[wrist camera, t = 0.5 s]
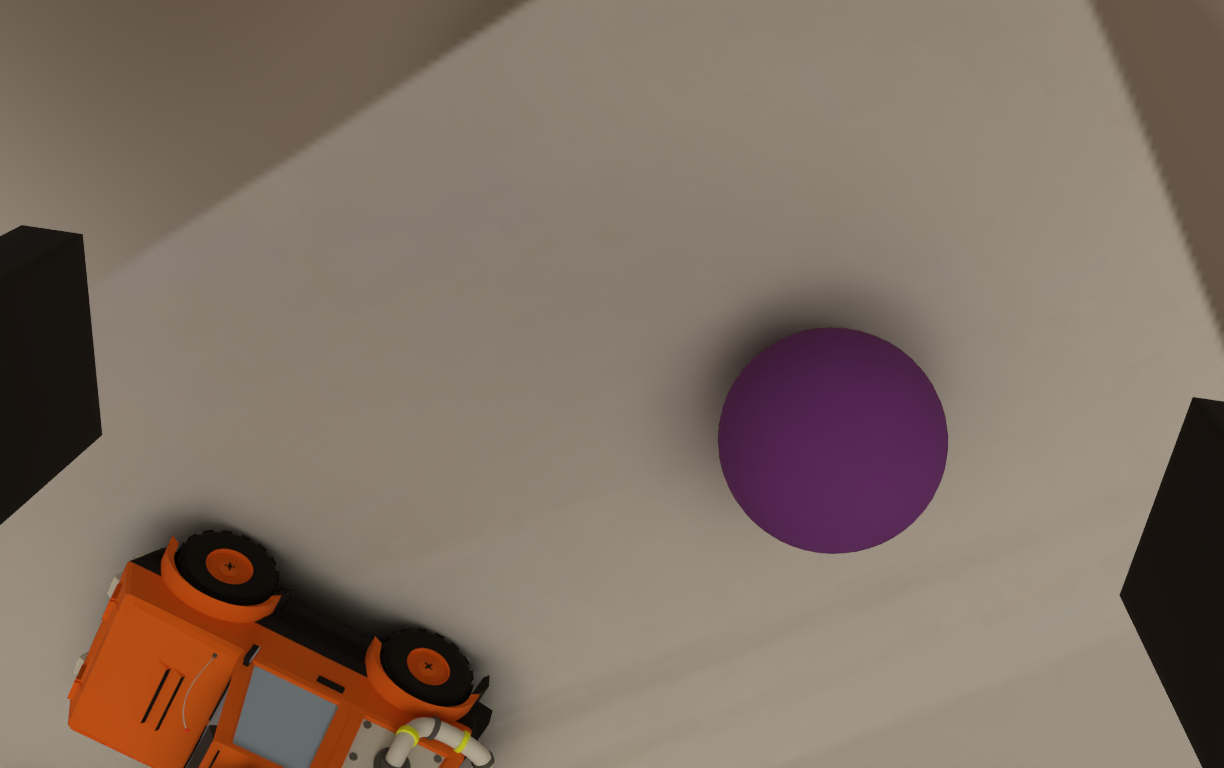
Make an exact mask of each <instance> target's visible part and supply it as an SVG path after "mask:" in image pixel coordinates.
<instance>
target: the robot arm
mask: <svg viewBox="0 0 1224 768" xmlns="http://www.w3.org/2000/svg"><path fill="white" fill-rule="evenodd" d="M101 435H102V428H101V418H100V408H99V397H98V387H97V377H96V367H95V356H94V346H93V336H92V325H91V315H90V305H89V295H88V284H87V274H86V264H85V253H84V243H83V235H82V234H77V233H70V232H64V231H57V230H50V229H44V228H37V227H30V226H23V225H22V226H19V227H18V228H15V229H14V230H12V231H9V232H8V233H6V234H4V235H2V236H0V525H1V524H2V523H3V522H4V521H5V520H7V519H8V518H9V517H10V516H11V515H12V514H13V513H14V512H16V511H17V510H18V509H19V508H20V507H21V506H22V505H23V504H25V503H26V502H27V501H28V500H29V499H30V498H31V497H33V496H34V495H35V494H36V493H37V492H38V491H39V490H40V489H42V488H43V487H44V486H45V485H46V484H47V483H48V482H49V481H51V480H52V479H53V478H54V477H55V476H56V475H57V474H58V473H60V472H61V471H62V470H63V469H64V468H65V467H66V466H68V465H69V464H70V463H71V462H72V461H73V460H74V459H75V458H77V457H78V456H79V455H80V454H81V453H82V452H83V451H84V450H86V449H87V448H88V447H89V446H90V445H91V444H92V443H94V442H95V441H96V440H97V439H98V438H99V437H100V436H101ZM1120 597H1121V599H1122V601H1123V603H1124V605H1125V608H1126V610H1127V612H1128V614H1129V616H1130V618H1131V620H1132V622H1133V624H1134V626H1135V628H1136V630H1137V632H1138V635H1139V637H1140V639H1141V641H1142V643H1143V645H1144V647H1145V649H1146V651H1147V653H1148V655H1149V657H1150V660H1151V662H1152V664H1153V666H1154V668H1155V670H1156V672H1157V674H1158V676H1159V678H1160V680H1161V682H1162V685H1163V687H1164V689H1165V691H1166V693H1167V695H1168V697H1169V699H1170V701H1171V703H1172V705H1173V707H1174V709H1175V712H1176V714H1177V716H1178V718H1179V720H1180V722H1181V724H1182V726H1183V728H1184V730H1185V732H1186V734H1187V737H1188V739H1189V741H1190V743H1191V745H1192V747H1193V749H1194V751H1195V753H1196V755H1197V757H1198V759H1199V761H1200V764H1201V766H1202V768H1224V402H1222V401H1215V400H1209V399H1202V398H1195V397H1193V398H1192V401H1191V404H1190V406H1189V409H1188V412H1187V414H1186V417H1185V420H1184V423H1183V425H1182V428H1181V431H1180V433H1179V436H1178V439H1177V441H1176V444H1175V447H1174V450H1173V452H1172V455H1171V458H1170V460H1169V463H1168V466H1167V468H1166V471H1165V474H1164V477H1163V479H1162V482H1161V485H1160V487H1159V490H1158V493H1157V496H1156V498H1155V501H1154V504H1153V506H1152V509H1151V512H1150V514H1149V517H1148V520H1147V523H1146V525H1145V528H1144V531H1143V533H1142V536H1141V539H1140V542H1139V544H1138V547H1137V550H1136V552H1135V555H1134V558H1133V560H1132V563H1131V566H1130V569H1129V571H1128V574H1127V577H1126V579H1125V582H1124V585H1123V588H1122V590H1121V593H1120Z"/></svg>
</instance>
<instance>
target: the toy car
mask: <svg viewBox="0 0 1224 768" xmlns="http://www.w3.org/2000/svg"><path fill="white" fill-rule="evenodd" d="M250 540H251V539H250V538H248V537H246V536H244V535H242V536H238V535H235V534H232V532H231V531H225V530H223V531H222V532H214V530H208V531H204V532H203V534H199V535H197V534H194V535H192V536H190V537H189V538H188V540H187V541H186V543H184V542H183V544H182V545H181V547H180V548H179V550H178V552H176V549H177V547H178V545H179V542H178V541H177V540H176V539H175V538H174V536H173V535H172V538H171V540H170V542H169V544H168V547H167V548H161V549H159V550H156V551H154V552H151V553H149V554H145V553H141V554H139V555H136V556H135V557H134V559H133V560H131V561H129V562H128V563H127V565H126V567H125V570H124V572H122V573H120V574H117V575H115V577H114V579H113V581H112V584H111V586H110V588H109V590H108V593H107V595H108V596H109V597H110V598H111V599H110V601H109V603H108V605H107V608H106V610H105V612H104V615H103V617H102V619H103V620H102V622H101V625H100V627H99V629H98V631H97V634H96V636H95V638H94V641H93V643H92V645H91V648H90V650H89V652H87V653H85V654H83V655H81V656H80V658H79V660H78V662H77V664H76V667H75V669H74V671H73V674H74V675H75V676H76V679H75V681H74V684H73V686H72V688H71V690H70V693H69V695H68V697H67V698H68V699H70V708H69V719H68V725H69V727H70V728H71V729H72V730H74V731H76V732H78V733H80V734H83V735H85V736H87V737H89V738H91V739H93V740H95V741H97V742H99V743H102V744H104V745H106V746H108V747H110V748H112V749H114V750H116V751H118V752H120V753H123V754H125V755H127V756H129V757H131V758H133V759H135V760H137V761H139V762H141V763H144V764H146V765H148V766H150V767H152V768H459V766H460V765H461V764H462V762H463V761H464V759H465V758H466V757H468V758H469V759H470V760H471V764H472V766H473V768H494V757H493V754H492V753H491V752H490V751H488V750H487V749H486V748H485V747H484V746H483V745H482V744H481V743H479V742H478V741H477V740H478V739H479V737H480V736H481V735H482V733H483V732H484V730H485V729H486V727H487V726H488V724H489V722H490V718H491V714H492V711H493V710H491V709H489V708H488V707H486V706H485V705H483V704H481V703H480V702H479V700H480V699H481V697H482V696H483V694H484V693H485V691H486V690H487V688H488V687H489V675H488V676H486V677H483V679H482V680H481V682H480V683H479V685H478V686H477V688H476V689H475V691H474V692H473V693H472V694H471V691H472V688H473V685H471V683H472V680H473V679H474V677H473V671H470V668H469V666H468V665H469V662H468V660H467V658H466V657H465V656H462V654H461V653H460V652H459V651H458V650H459V648H458V647H457V646H455V645H454V644H453V643H449V642H448V641H446V640H445V639H444V637H443V636H441V635H439V634H437V633H436V634H432V633H429V632H427V630H425V629H418V630H411V629H410V628H408V629H402V631H401V632H400V633H396V632H395V633H393V634H392V635H390V636H389V638H388V639H387V640H386V641H385V642H384V644H383V645H382V644H381V642H380V641H379V640H378V639H377V638H376V637H374V639H373V638H370V637H368V636H366V635H364V634H362V633H360V632H358V631H356V630H354V629H352V628H350V627H348V626H346V625H344V624H342V623H340V622H338V621H336V620H334V619H332V618H330V617H328V616H326V615H324V614H322V613H320V612H318V611H316V610H314V609H312V608H310V607H308V606H306V605H304V604H302V603H300V602H298V601H296V600H294V599H292V598H291V599H290V600H289V602H288V604H287V606H285V604H286V602H287V600H288V599H289V597H290V595H291V593H292V591H293V589H283V590H282V591H280V592H278V593H276V590H277V587H278V585H279V584H278V581H279V578H280V576H279V571H277V570H276V567H275V566H276V562H275V560H274V559H273V557H270V556H269V555H268V554H267V553H266V549H265V548H264V547H262V546H261V545H260V544H259V545H257V544H255V543H254V542H252V541H250ZM275 593H276V594H275ZM381 645H382V646H381ZM470 694H471V695H470Z"/></svg>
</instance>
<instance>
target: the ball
mask: <svg viewBox="0 0 1224 768" xmlns="http://www.w3.org/2000/svg"><path fill="white" fill-rule="evenodd" d="M718 446H719V458H720V462H721V467H722V471H723V474H724V477H725V479H726V482H727V484H728V487H729V489H730V491H731V493H732V494H733V496H734V498H735V500H736V501H737V503H738V504H739V505H740V507H741V508H742V509H743V510H744V512H745V513H746V514H747V516H748V517H749V518H750V519H751V520H752V521H753V522H754V523H755V524H757V525H758V526H759V527H760V528H762V529H763V530H764V531H766V532H767V533H768V534H770V535H771V536H773V537H775V538H777V539H778V540H780V541H782V542H784V543H786V544H789V545H791V546H793V547H796V548H800V549H803V550H807V551H812V552H817V553H829V554H836V553H849V552H857V551H861V550H865V549H869V548H871V547H874V546H877V545H880V544H882V543H884V542H886V541H888V540H890V539H892V538H894V537H895V536H897V535H898V534H900V533H901V532H903V531H904V530H905V529H906V528H907V527H909V526H910V525H911V524H912V523H913V522H914V521H915V520H916V519H917V518H918V517H919V516H920V515H921V514H922V512H923V511H924V510H925V509H926V507H927V506H928V505H929V503H930V502H931V500H932V499H933V497H934V495H935V492H936V490H937V488H938V486H939V484H940V482H941V479H942V476H943V473H944V470H945V465H946V459H947V452H948V432H947V425H946V419H945V414H944V411H943V407H942V404H941V401H940V399H939V397H938V395H937V393H936V391H935V389H934V387H933V385H932V383H931V382H930V380H929V379H928V377H927V376H926V374H925V373H924V372H923V371H922V370H921V368H920V367H919V366H918V365H917V364H916V363H915V362H914V361H913V360H912V359H911V358H910V357H909V356H908V355H906V354H905V353H904V352H903V351H902V350H900V349H899V348H897V347H896V346H894V345H892V344H891V343H889V342H887V341H885V340H883V339H881V338H878V337H876V336H874V335H871V334H868V333H865V332H862V331H857V330H852V329H847V328H817V329H812V330H806V331H802V332H799V333H796V334H792V335H790V336H788V337H785V338H783V339H781V340H779V341H777V342H775V343H774V344H772V345H770V346H769V347H767V348H766V349H765V350H763V351H762V352H761V353H759V354H758V355H757V356H756V357H754V358H753V359H752V360H751V361H750V362H749V363H748V364H747V365H746V366H745V368H744V369H743V370H742V372H741V373H740V374H739V376H738V377H737V378H736V380H735V382H734V384H733V385H732V387H731V389H730V391H729V393H728V395H727V397H726V400H725V403H724V405H723V409H722V413H721V418H720V423H719V431H718Z"/></svg>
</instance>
